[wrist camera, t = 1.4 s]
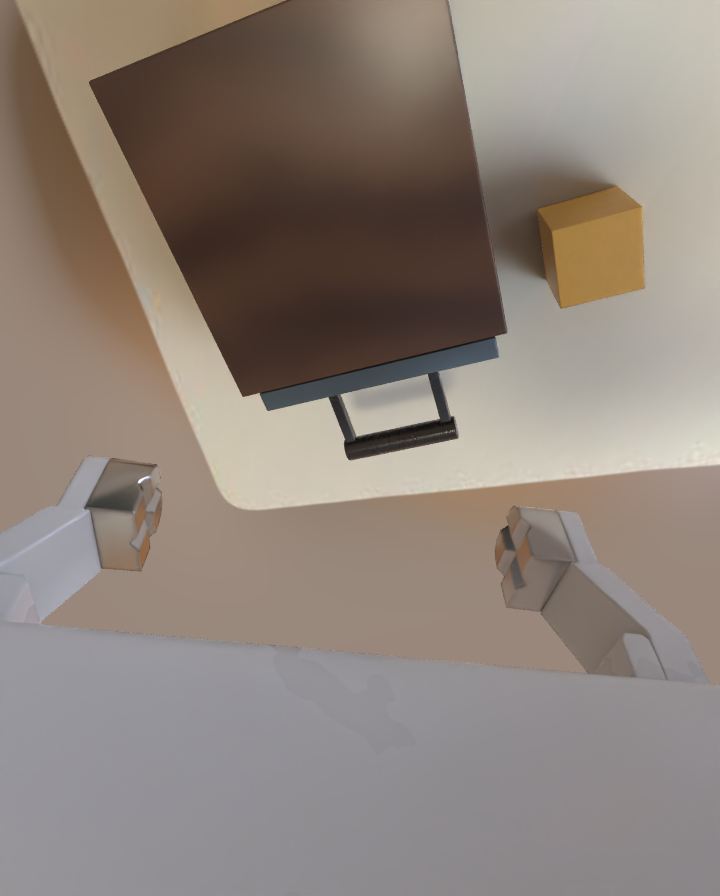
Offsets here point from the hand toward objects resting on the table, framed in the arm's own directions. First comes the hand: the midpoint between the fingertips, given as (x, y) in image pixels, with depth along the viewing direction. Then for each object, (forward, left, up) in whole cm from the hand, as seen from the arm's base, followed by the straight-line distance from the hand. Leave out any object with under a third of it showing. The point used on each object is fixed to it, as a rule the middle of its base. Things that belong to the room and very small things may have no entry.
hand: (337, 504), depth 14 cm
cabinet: (+3, -1, -26) cm, 26 cm away
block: (-11, -1, -26) cm, 28 cm away
